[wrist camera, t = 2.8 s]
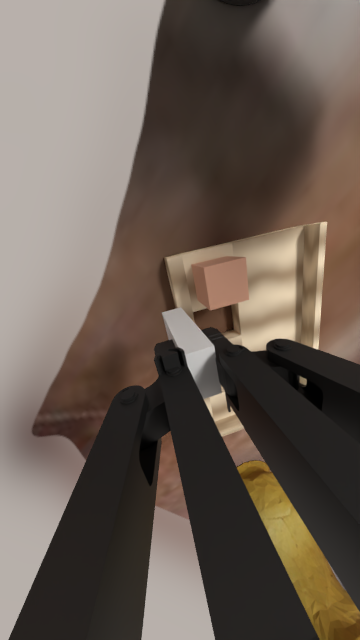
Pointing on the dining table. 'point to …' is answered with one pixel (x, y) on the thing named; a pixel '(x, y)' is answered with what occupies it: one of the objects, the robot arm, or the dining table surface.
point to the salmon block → (221, 281)
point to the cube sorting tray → (262, 294)
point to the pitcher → (302, 557)
